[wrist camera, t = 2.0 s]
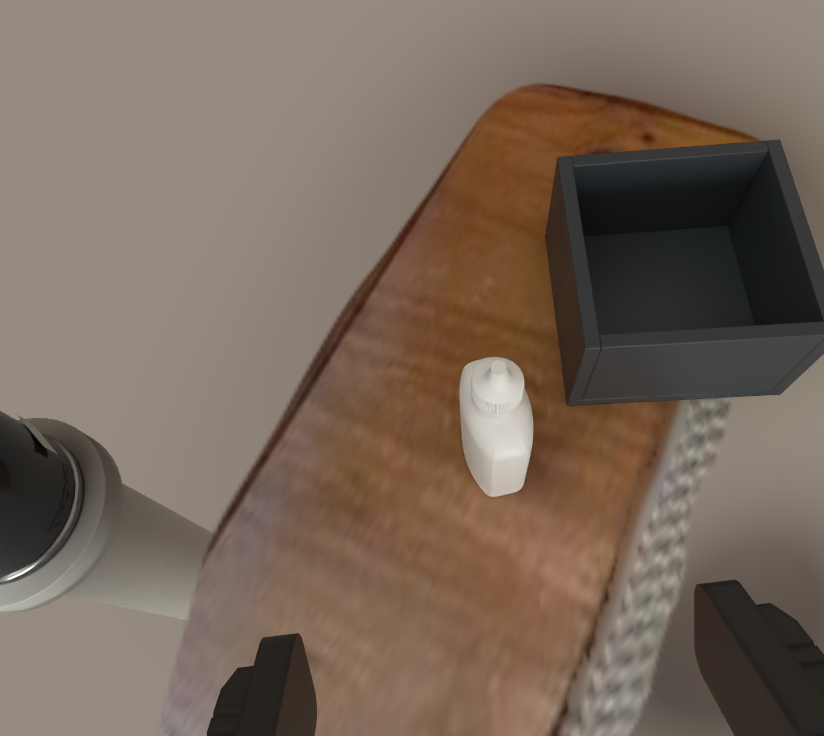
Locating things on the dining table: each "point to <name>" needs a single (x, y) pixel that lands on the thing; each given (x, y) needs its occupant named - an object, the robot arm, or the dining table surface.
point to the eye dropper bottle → (495, 424)
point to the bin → (682, 274)
